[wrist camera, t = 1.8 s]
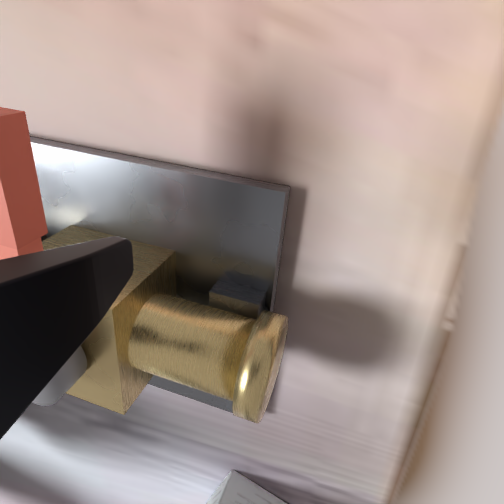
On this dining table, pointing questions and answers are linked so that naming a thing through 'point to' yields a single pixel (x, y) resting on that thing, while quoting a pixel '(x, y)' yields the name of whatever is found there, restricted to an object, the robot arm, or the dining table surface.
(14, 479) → the dining table surface
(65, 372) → the lever
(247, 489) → the skincare box
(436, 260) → the dining table surface
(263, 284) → the valve body
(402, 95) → the dining table surface
